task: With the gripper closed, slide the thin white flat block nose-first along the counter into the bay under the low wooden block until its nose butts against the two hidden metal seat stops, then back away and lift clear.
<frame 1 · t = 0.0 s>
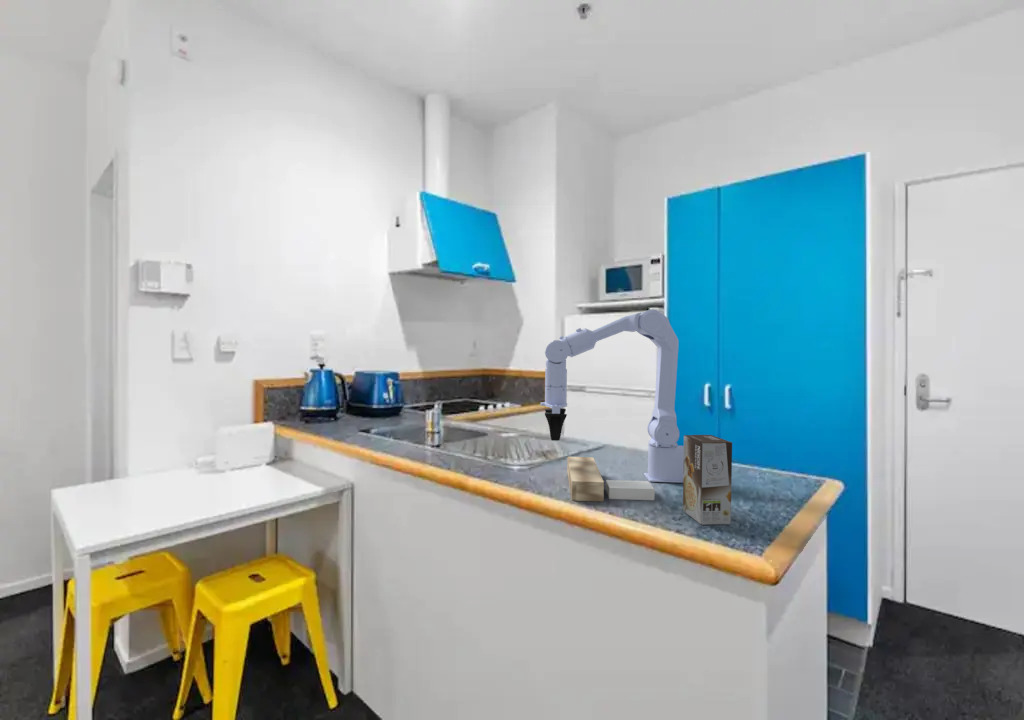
hand: (555, 437, 134), 10 cm above the counter, fingers open, 7 cm apart
wooden block: (585, 493, 118), on the counter
coffee box: (705, 518, 102), on the counter
white flat block: (629, 495, 117), on the counter
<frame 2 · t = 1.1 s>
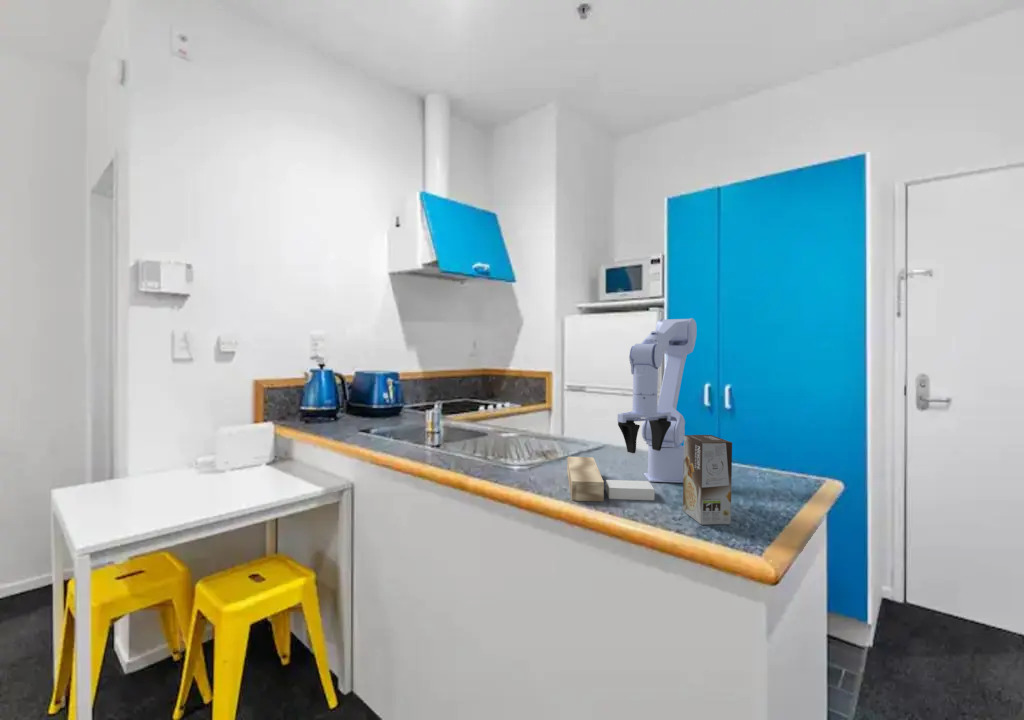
hand: (644, 451, 120), 10 cm above the counter, fingers open, 7 cm apart
nothing on the counter moved.
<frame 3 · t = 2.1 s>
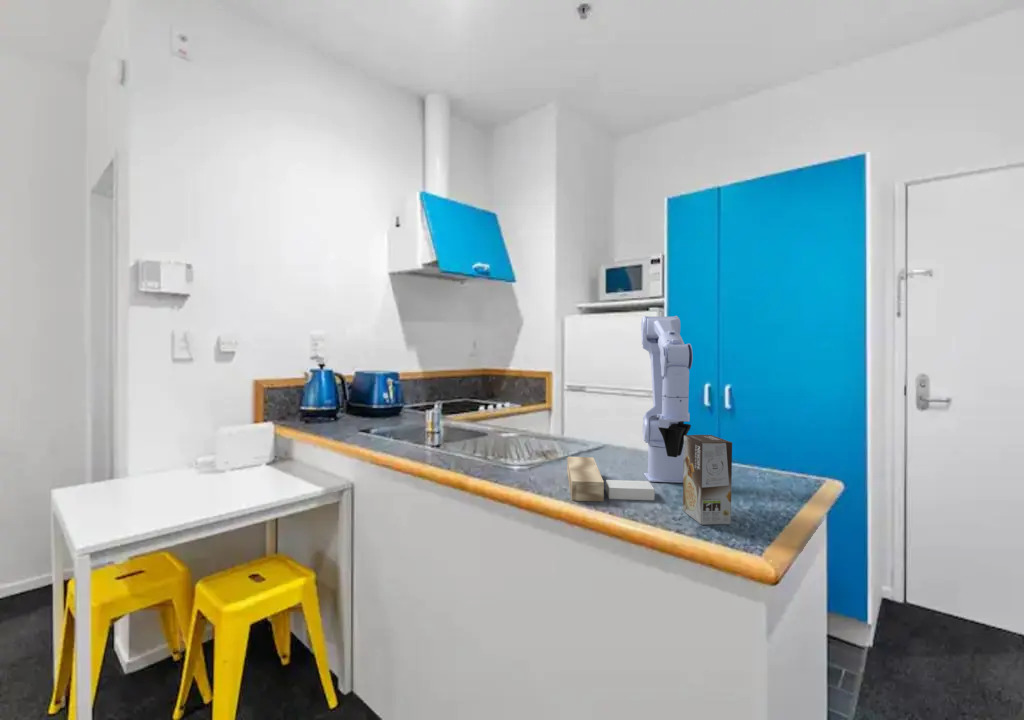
hand: (674, 455, 116), 9 cm above the counter, fingers closed
nothing on the counter moved.
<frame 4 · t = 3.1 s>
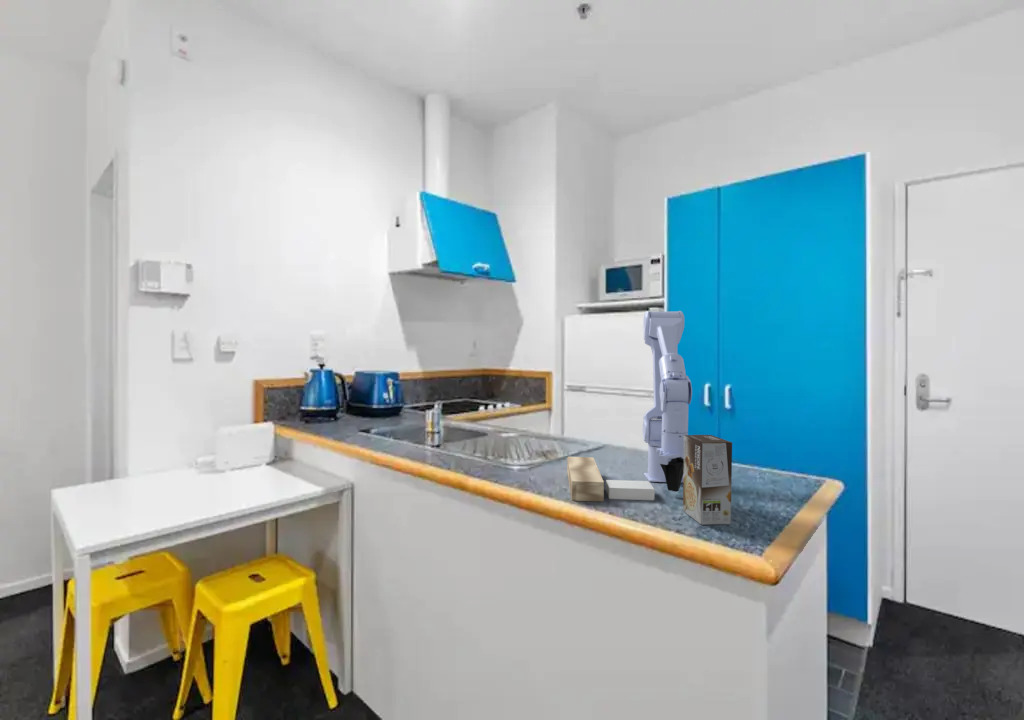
hand: (673, 490, 116), 1 cm above the counter, fingers closed
nothing on the counter moved.
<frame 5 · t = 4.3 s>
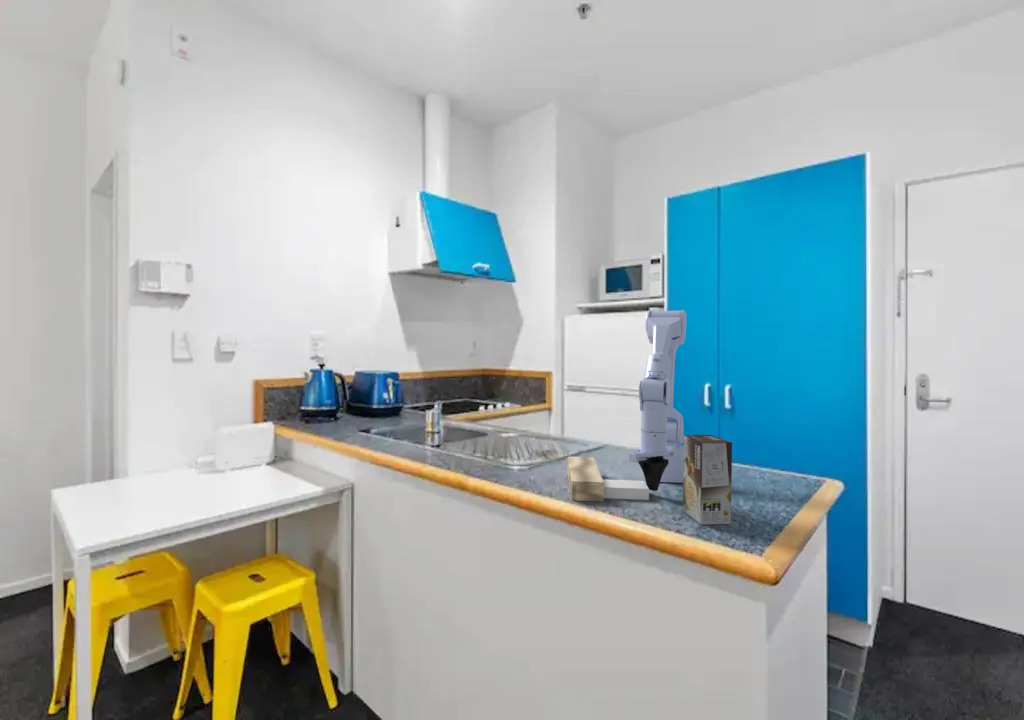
hand: (652, 489, 117), 1 cm above the counter, fingers closed
white flat block: (624, 494, 117), on the counter, touching gripper
everything else where it was.
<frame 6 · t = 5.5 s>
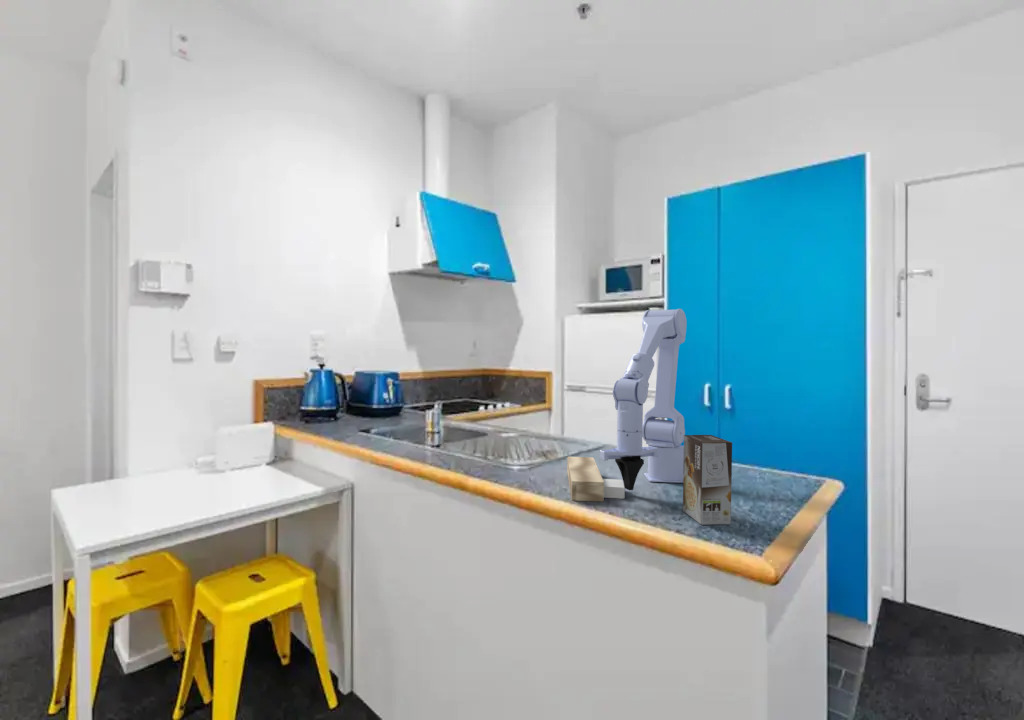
hand: (628, 489, 117), 1 cm above the counter, fingers closed
white flat block: (601, 493, 118), on the counter, touching gripper, wooden block
everything else where it was.
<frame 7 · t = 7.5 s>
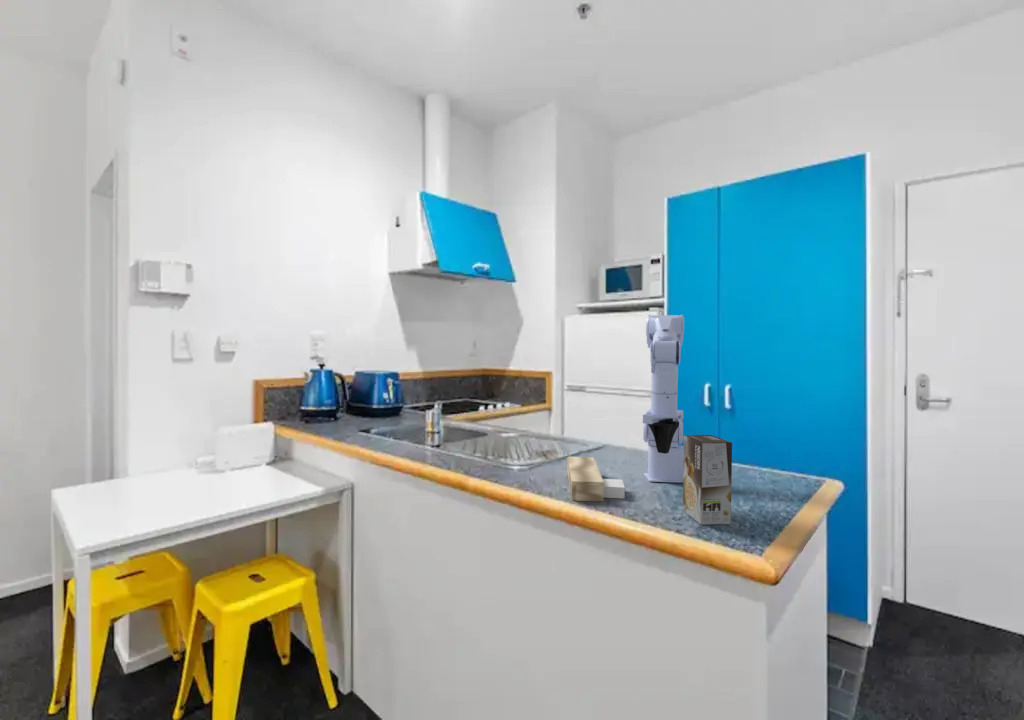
hand: (663, 452, 116), 10 cm above the counter, fingers closed
white flat block: (601, 493, 118), on the counter
everything else where it was.
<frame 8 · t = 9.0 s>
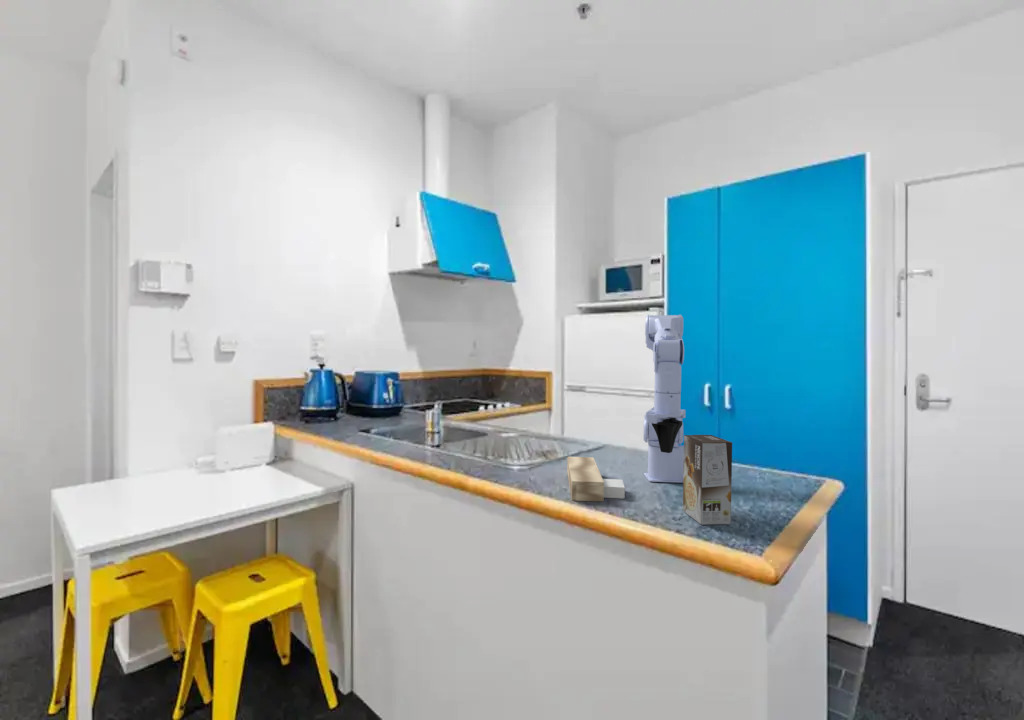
hand: (666, 452, 115), 10 cm above the counter, fingers closed
nothing on the counter moved.
at the end: white flat block 0.9 cm from the target spot, on the counter; white flat block tilted 0° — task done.
